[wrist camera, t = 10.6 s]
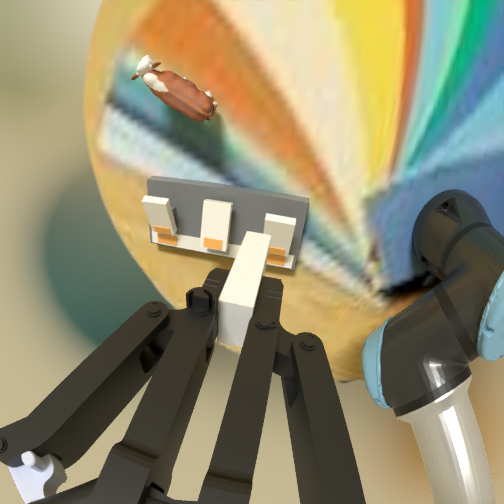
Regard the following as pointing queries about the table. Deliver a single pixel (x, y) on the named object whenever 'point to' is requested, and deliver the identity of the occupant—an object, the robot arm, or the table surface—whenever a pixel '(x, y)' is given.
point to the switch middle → (215, 224)
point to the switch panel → (242, 220)
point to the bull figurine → (176, 91)
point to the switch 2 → (279, 233)
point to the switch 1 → (159, 214)
